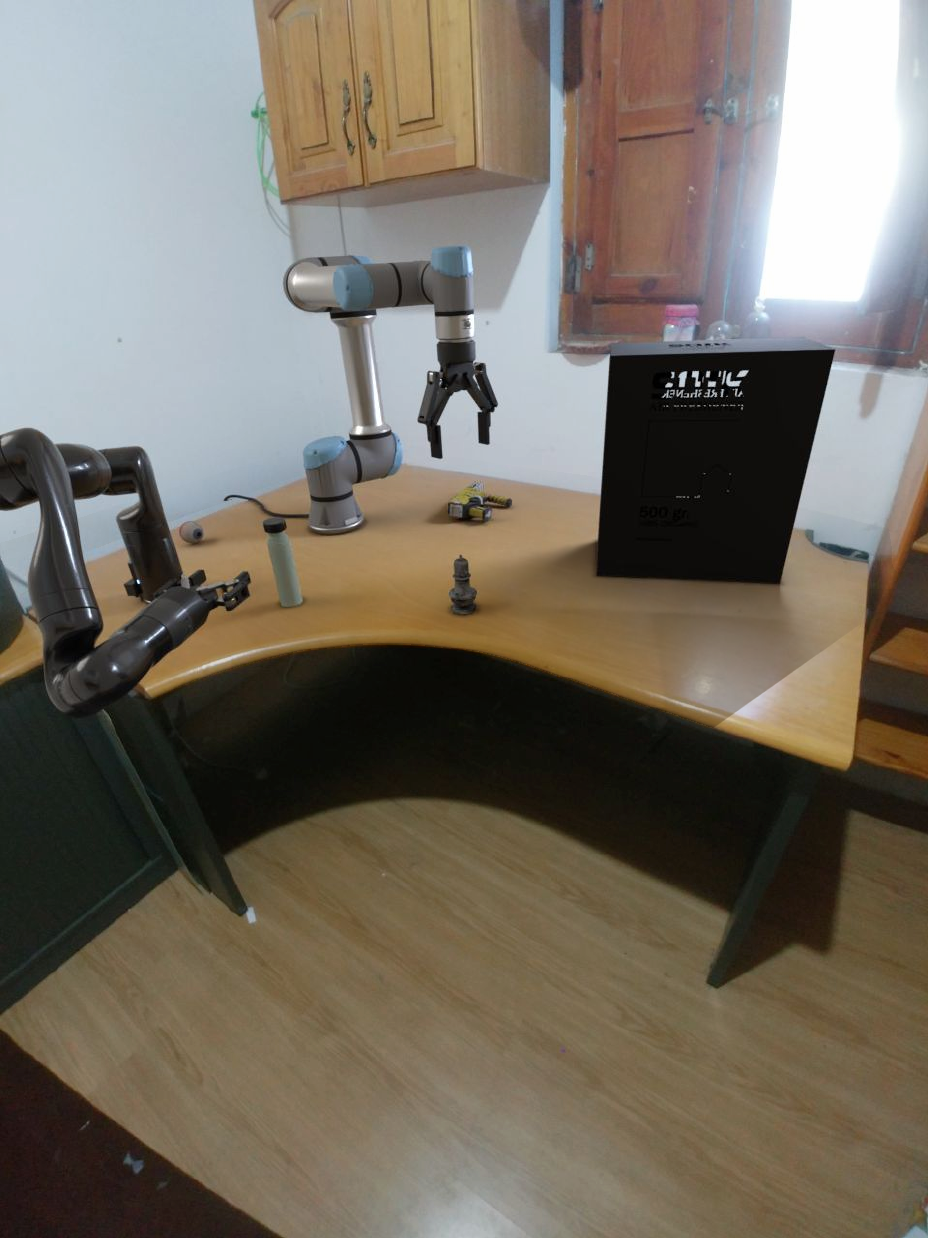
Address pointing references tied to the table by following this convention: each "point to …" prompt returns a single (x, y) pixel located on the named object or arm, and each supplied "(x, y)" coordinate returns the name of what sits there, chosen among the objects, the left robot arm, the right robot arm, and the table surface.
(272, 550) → the bottle
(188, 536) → the eyeball
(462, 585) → the salt shaker
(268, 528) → the cap
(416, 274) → the right robot arm
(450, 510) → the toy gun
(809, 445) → the cardboard box
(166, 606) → the left robot arm
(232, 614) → the table surface
